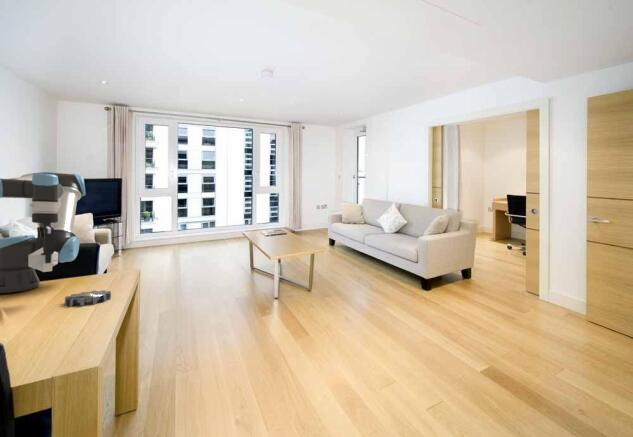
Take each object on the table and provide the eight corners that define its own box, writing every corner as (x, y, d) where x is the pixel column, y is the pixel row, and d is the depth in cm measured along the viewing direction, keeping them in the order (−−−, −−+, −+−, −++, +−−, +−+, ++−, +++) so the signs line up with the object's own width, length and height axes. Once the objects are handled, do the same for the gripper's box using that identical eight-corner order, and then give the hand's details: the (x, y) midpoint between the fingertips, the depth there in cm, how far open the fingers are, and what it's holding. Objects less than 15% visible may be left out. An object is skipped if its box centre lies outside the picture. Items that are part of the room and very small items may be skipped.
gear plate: (60, 302, 113) (60, 295, 113) (103, 294, 125) (103, 288, 125) (70, 308, 104) (70, 302, 104) (116, 299, 116) (116, 293, 116)
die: (42, 273, 108) (41, 247, 108) (21, 274, 109) (21, 248, 109) (64, 270, 117) (63, 245, 117) (45, 270, 118) (44, 246, 118)
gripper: (27, 212, 116) (26, 268, 116) (37, 212, 104) (37, 274, 104) (51, 212, 122) (51, 266, 122) (64, 212, 110) (64, 271, 110)
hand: (45, 270), depth 113 cm, fingers closed on die, 7 cm apart
